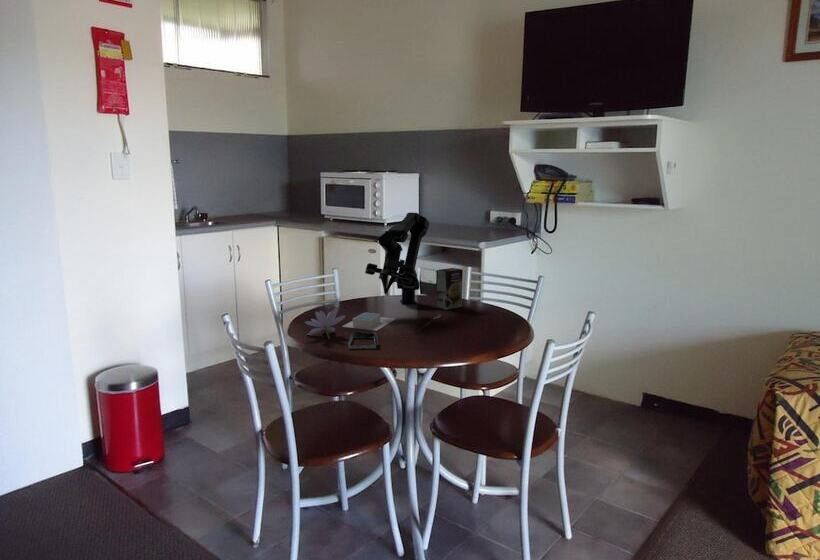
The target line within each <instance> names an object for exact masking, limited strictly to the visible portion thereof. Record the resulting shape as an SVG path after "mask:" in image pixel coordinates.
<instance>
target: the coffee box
mask: <svg viewBox="0 0 820 560" xmlns="http://www.w3.org/2000/svg"><path fill="white" fill-rule="evenodd" d="M463 270H464V269H462V268H454V267H450V268H448V267H447V268H442V269H440V268H439V269H437V281H436V282H437V283H436V284H437V285H436V289H437V290H436V308H439V309H442V310H446V311H447V310H452V308H453V309H457V308H462V307H463V279H464V278H463V276H464V275H463V272H464V271H463Z"/></svg>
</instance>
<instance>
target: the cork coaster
mask: <svg viewBox="0 0 820 560" xmlns="http://www.w3.org/2000/svg"><path fill="white" fill-rule="evenodd" d="M436 318H437V319H439V318H442V314H441V313H438V314H437V315H436V316H434V317H433V318H432V319H433V320H436Z"/></svg>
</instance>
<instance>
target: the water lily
mask: <svg viewBox="0 0 820 560" xmlns="http://www.w3.org/2000/svg"><path fill="white" fill-rule="evenodd" d="M338 309H339V308H338V307H336V308H334V309H333V310H332V311H329V312H328V313H326V314H327V315H326V314H325V312H324V311H323V310H319V312H318V311H315V317H316V318H310V321H309V320H307V321H304V324H306V325H308V326H311V327H315V328H312V329H311V330H310V331H309V332H307V334H306V336H307V335H310V336H313V335H317V334H318V333H320V332H322V331H324V330H325V333H326V336H327V338H328V339H327V340H331V338H330V333H335V331H336V328H335V327H332V326H335V325H336V324H337V325H338V324H339V323H340V322H341V321H342V320H344V319H345V318H346V315H340V316H338V317H337V316H336V315H337V313H338V311H339V310H338Z"/></svg>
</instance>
